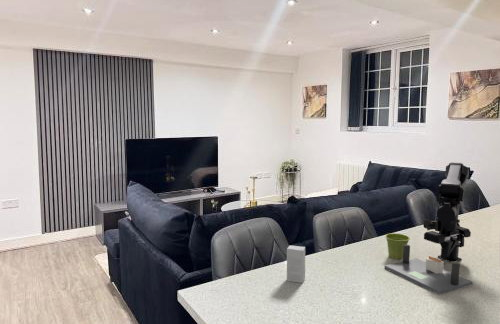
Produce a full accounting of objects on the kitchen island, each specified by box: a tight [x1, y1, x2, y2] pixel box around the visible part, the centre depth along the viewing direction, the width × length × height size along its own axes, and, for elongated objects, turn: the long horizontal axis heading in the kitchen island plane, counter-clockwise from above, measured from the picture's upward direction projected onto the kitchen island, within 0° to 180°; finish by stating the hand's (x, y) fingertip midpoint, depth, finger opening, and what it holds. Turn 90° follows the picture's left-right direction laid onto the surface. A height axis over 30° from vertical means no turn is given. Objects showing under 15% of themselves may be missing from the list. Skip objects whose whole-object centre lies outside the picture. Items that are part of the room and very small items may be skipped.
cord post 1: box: [402, 244, 411, 264], centre depth 150 cm, size 2×2×7 cm
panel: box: [384, 258, 474, 295], centre depth 140 cm, size 17×24×1 cm
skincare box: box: [286, 245, 306, 284], centre depth 137 cm, size 6×4×12 cm
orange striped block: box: [425, 255, 445, 274], centre depth 142 cm, size 3×5×5 cm, turn 25°
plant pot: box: [385, 232, 410, 260], centre depth 159 cm, size 9×9×9 cm
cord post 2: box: [450, 262, 461, 285], centre depth 131 cm, size 2×2×7 cm
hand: (446, 256), depth 144 cm, fingers closed
